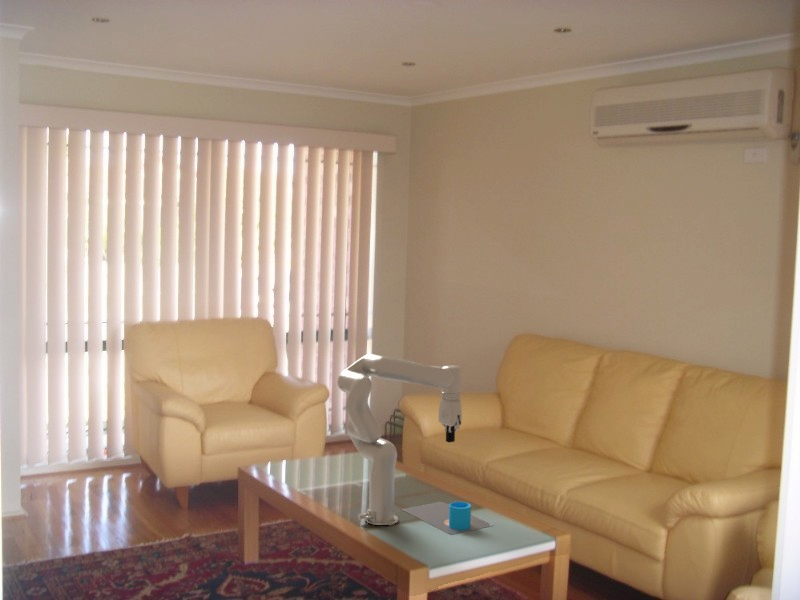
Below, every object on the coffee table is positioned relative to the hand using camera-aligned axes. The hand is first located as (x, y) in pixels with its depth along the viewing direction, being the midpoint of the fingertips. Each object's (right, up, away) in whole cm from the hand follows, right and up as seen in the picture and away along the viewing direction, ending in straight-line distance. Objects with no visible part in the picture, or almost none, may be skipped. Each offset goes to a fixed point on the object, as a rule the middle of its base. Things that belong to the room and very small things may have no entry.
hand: (450, 441), depth 344 cm
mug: (+2, -29, -18) cm, 34 cm away
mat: (-2, -28, -10) cm, 30 cm away
